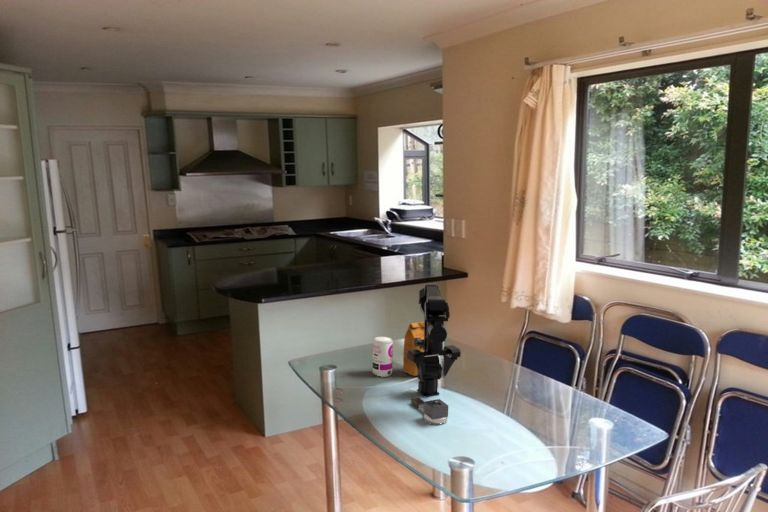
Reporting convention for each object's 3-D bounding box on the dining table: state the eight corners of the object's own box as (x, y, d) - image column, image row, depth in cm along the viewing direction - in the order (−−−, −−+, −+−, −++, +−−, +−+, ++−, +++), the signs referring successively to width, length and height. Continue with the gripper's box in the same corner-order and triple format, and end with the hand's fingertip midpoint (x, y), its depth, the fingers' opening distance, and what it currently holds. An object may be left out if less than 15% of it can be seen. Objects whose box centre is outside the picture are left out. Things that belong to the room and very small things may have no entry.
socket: (439, 410, 205) (439, 399, 204) (447, 416, 199) (448, 405, 199) (423, 412, 202) (424, 401, 202) (432, 419, 197) (432, 408, 196)
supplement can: (394, 372, 246) (395, 337, 244) (388, 378, 239) (389, 342, 236) (376, 369, 249) (377, 335, 247) (369, 375, 241) (370, 340, 239)
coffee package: (438, 374, 245) (440, 322, 242) (413, 379, 239) (415, 326, 236) (424, 367, 254) (426, 317, 250) (400, 371, 247) (401, 320, 244)
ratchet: (424, 401, 217) (425, 384, 216) (451, 422, 199) (452, 404, 198) (405, 404, 213) (405, 387, 212) (430, 426, 196) (431, 407, 195)
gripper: (446, 325, 216) (444, 366, 219) (400, 330, 209) (399, 372, 211) (462, 334, 206) (460, 376, 209) (415, 339, 199) (413, 383, 201)
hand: (433, 377), depth 208 cm, fingers open, 9 cm apart
